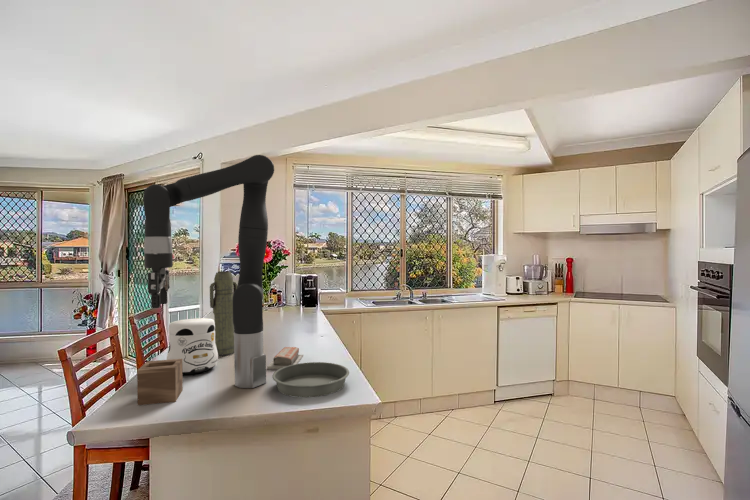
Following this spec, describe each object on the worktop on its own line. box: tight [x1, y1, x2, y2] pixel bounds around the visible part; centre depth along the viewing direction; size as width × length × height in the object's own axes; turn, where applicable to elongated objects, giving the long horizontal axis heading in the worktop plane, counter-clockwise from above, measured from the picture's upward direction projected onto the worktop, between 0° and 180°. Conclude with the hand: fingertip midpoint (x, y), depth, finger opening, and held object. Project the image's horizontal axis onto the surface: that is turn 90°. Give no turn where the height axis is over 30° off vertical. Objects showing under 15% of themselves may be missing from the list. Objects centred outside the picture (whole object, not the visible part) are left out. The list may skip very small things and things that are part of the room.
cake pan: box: [271, 361, 350, 398], centre depth 133 cm, size 25×25×4 cm
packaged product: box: [266, 346, 304, 370], centre depth 160 cm, size 18×5×10 cm
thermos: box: [209, 270, 238, 357], centre depth 175 cm, size 9×12×35 cm
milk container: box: [165, 317, 219, 375], centre depth 151 cm, size 17×17×18 cm
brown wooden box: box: [136, 359, 184, 406], centre depth 123 cm, size 10×10×10 cm
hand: (159, 305), depth 123 cm, fingers open, 8 cm apart
